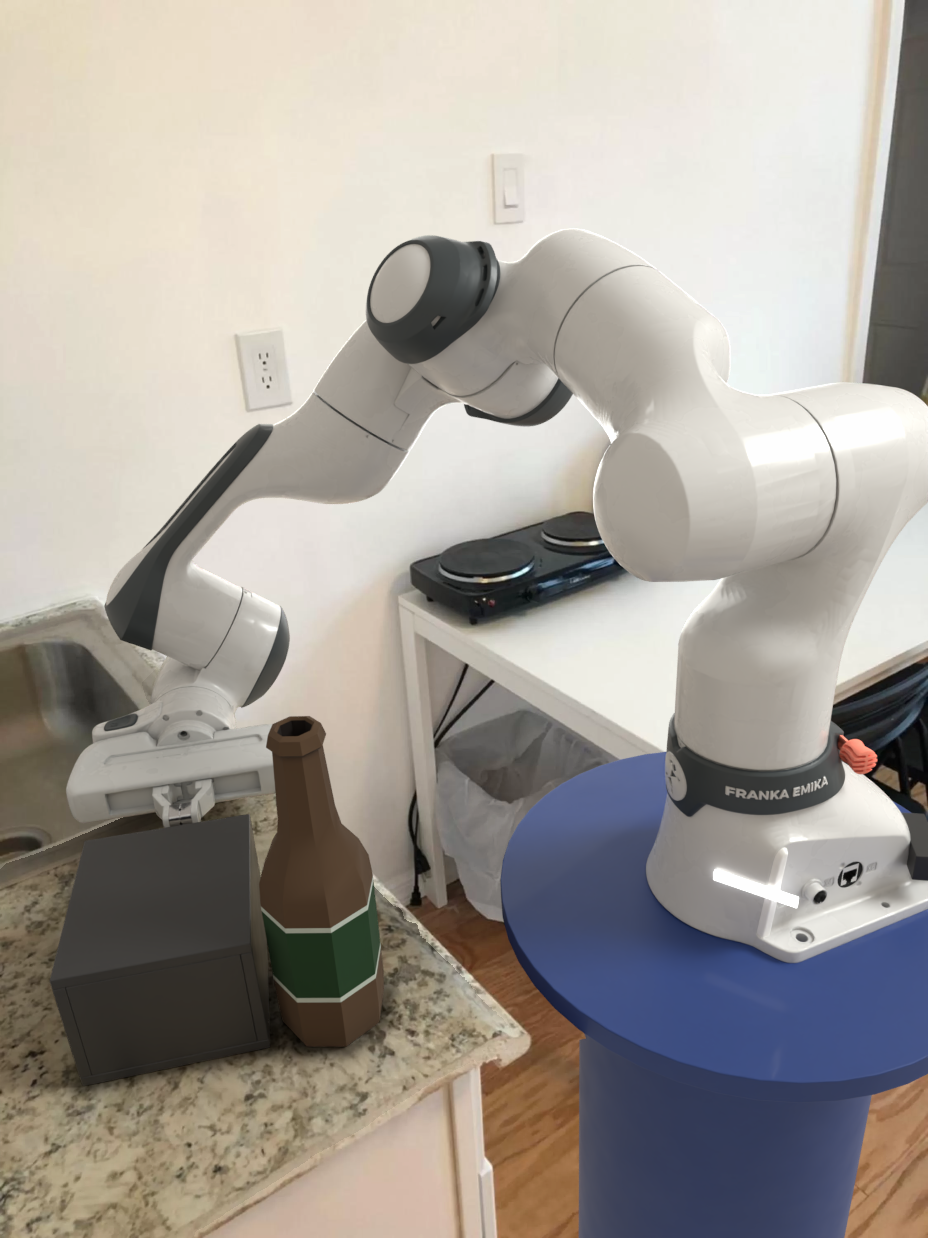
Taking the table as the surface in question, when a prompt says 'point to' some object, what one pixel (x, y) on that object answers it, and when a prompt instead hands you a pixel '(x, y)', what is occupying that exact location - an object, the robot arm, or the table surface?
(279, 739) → the beer bottle
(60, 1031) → the table surface
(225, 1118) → the table surface
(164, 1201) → the table surface
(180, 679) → the robot arm
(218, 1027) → the cabinet
